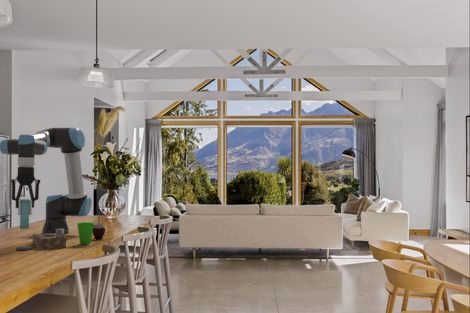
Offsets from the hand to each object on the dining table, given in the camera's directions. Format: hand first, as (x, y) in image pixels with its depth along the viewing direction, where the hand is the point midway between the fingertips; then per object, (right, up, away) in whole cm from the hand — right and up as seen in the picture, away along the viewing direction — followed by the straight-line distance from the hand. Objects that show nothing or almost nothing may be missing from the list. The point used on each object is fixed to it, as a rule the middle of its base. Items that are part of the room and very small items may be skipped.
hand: (24, 214), depth 261 cm
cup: (+23, -18, +22) cm, 36 cm away
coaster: (0, -17, 0) cm, 17 cm away
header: (+7, -17, +14) cm, 23 cm away
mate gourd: (+26, -18, +41) cm, 51 cm away
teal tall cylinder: (0, -7, 0) cm, 7 cm away
